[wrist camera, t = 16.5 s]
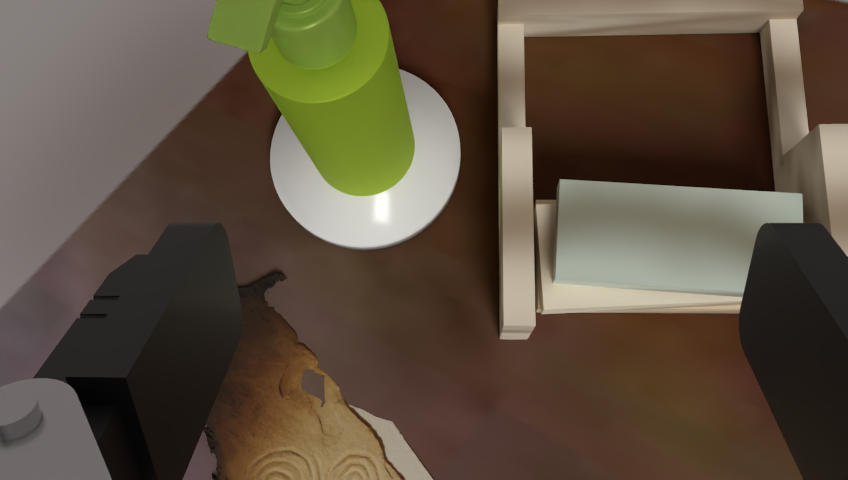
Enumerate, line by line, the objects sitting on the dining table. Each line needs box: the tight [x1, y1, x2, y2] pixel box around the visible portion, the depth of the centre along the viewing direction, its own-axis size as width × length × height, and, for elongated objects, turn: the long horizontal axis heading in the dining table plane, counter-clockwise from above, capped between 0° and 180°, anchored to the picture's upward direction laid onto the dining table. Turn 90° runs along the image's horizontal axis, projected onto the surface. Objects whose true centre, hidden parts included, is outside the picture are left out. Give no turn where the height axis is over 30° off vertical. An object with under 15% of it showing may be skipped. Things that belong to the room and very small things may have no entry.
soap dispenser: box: [207, 0, 415, 196], centre depth 34 cm, size 6×7×20 cm
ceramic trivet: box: [270, 69, 461, 250], centre depth 44 cm, size 11×11×1 cm
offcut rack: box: [497, 0, 848, 339], centre depth 41 cm, size 20×17×6 cm
